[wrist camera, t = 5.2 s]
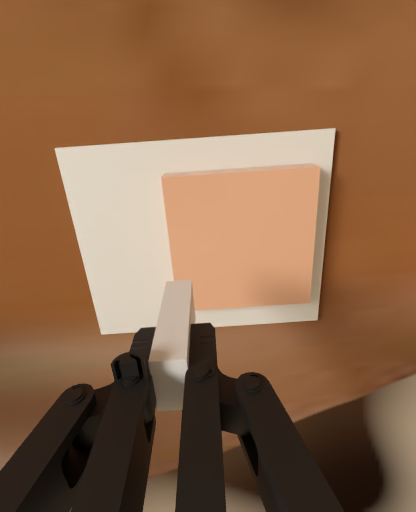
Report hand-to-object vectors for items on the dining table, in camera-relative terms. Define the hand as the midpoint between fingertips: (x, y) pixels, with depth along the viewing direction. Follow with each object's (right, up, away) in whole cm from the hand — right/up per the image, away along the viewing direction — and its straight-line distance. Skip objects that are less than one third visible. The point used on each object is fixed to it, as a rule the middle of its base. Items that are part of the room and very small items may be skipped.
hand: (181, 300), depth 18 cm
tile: (-2, +3, +8) cm, 9 cm away
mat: (+1, +4, +10) cm, 11 cm away
